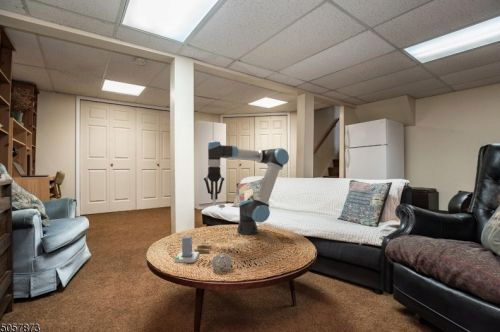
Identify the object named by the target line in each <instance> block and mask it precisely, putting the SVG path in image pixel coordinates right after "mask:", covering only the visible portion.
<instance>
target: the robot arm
mask: <svg viewBox="0 0 500 332" xmlns="http://www.w3.org/2000/svg"><path fill="white" fill-rule="evenodd" d="M221 159H229V160H231V159H232V160H239V161H240V160H241V161H251V162H256V163H259V164H265V165H267V168H266V171H265V172H264V177H263V179H262V182H261V185H260V187H259V190H258V193H257V195H256V197H255V198H253V200H252V199H251V200H249V199H248V200H241V201H239V206H238V208H239V222H238V224H237V225H238V226H237V228H236V229H237V230H236V232H237V234H239V235H244V236H245V235H246V236H247V235H250V236H251V235H255V234H258V233H259V229H258V225H257V223H264V222H266V221H268V219H269V217H270V214H271V210H270V208H269V207H270V203H269V201H270V198H271V195H272V193H273V190H274V186H275V184H276V181H277V178H278V175H279V173H280V171H281V170H283V168H284V166H285V165H286V164H288V162H289V161H290V154H289V153H288V151H287V150H286V148H285V149H284V148H280V147H278V148H270V149H258V150H252V149H251V150H250V149H244V148H243V149H242V148H238V146H237V145H223V144H221V142H220V141H218V140H217V141H216V140H215V141H214V140H213V141H212V140H211V141H209V142H208V144H207V166H208V167H207V175H206V177H203V181H204V182H205V185H206V190H207V194H209V195H210V199H211V200H212V206H216V205H217V203H216V202H217V200H218V194H220V193H221V191H222V188H223V183H224V181H225V177H224V176H222V174H221ZM209 181H210V184H209ZM219 181H220V184H219ZM218 184H219V186H218Z"/></svg>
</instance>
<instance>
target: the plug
mask: <svg viewBox="0 0 500 332" xmlns="http://www.w3.org/2000/svg"><path fill="white" fill-rule="evenodd" d="M181 240H182V241H181V242H182V243H181V244H182V246H181V248H182V249H181V252H182V257H192V252H193V235H184V236H183V237H182V239H181Z"/></svg>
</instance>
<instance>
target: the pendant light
mask: <svg viewBox="0 0 500 332" xmlns="http://www.w3.org/2000/svg"><path fill="white" fill-rule="evenodd" d="M217 207H218V208H220V209H223V208H226V205H225V204H218V205H217ZM232 262H233V261H232V258H231V257H230V256H229V255H228V254H225V253H224V254H223V253H221V254H217V255H215V256H214V257H213V258H212V259H211V266H212V268H213V269H214V270H216V271H218V272H221V271H227V270H229V269H230V267H232Z"/></svg>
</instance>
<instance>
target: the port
mask: <svg viewBox="0 0 500 332" xmlns="http://www.w3.org/2000/svg"><path fill="white" fill-rule="evenodd" d="M199 256H200V253H199V252H194V251H192V257H182V251H180V252H179V253H178V254H177V256H175V257H174V259H173V261H174V263H196V261H197V259H198V257H199Z"/></svg>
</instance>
